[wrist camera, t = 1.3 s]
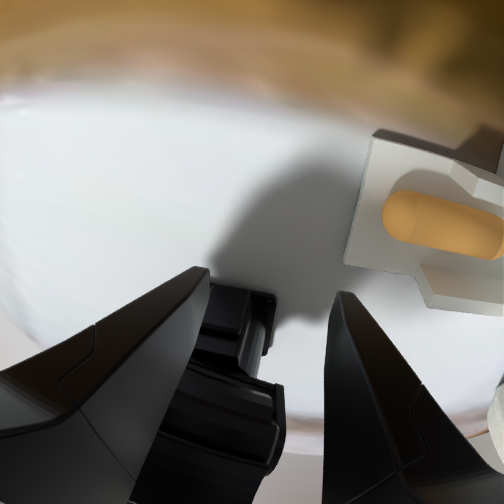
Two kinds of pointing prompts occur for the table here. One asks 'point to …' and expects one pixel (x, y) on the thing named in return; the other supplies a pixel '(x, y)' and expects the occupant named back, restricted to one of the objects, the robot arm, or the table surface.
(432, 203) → the orange rounded block
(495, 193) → the white open box
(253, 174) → the table surface
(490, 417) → the vase
